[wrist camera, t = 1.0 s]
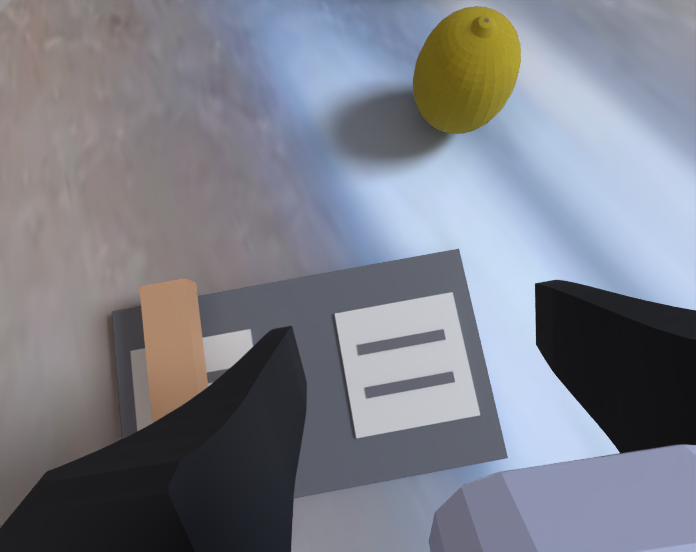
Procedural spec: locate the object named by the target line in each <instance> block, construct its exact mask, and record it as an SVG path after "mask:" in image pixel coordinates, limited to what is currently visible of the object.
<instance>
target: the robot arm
mask: <svg viewBox="0 0 696 552" xmlns="http://www.w3.org/2000/svg"><path fill="white" fill-rule="evenodd" d="M535 310H536V345H537V347H538V349H539V350H540V352H541V354H542V355H543V357H544V359H545V360H546V362H547V363H548V365H549V366H550V368H551V369H552V371H553V372H554V374H555V375H556V376H557V377H558V378H559V380H560V381H561V382H562V383H563V384H564V386H565V387H566V388H567V389H568V390H569V392H570V393H571V394H572V395H573V396H574V397H575V398H576V400H577V401H578V402H579V403H580V404H581V405H582V407H583V408H584V409H585V410H586V411H587V412H588V414H589V415H590V416H591V417H592V418H593V419H594V421H595V422H596V423H597V424H598V425H599V426H600V428H601V429H602V430H603V431H604V432H605V434H606V435H607V436H608V437H609V439H610V440H611V441H612V443H613V444H614V445H615V446H616V448H617V449H618V451H619V452H620V454H613V455H607V456H600V457H594V458H587V459H581V460H574V461H568V462H561V463H555V464H548V465H542V466H535V467H529V468H522V469H516V470H509V471H503V472H498V473H495V474H492V475H489V476H486V477H484V478H481V479H478V480H475V481H472V482H470V483H467V484H464V485H463V486H462V487H461V488H460V489H459V490H458V491H457V492H455V493H454V494H453V495H452V496H451V497H450V498H449V499H448V500H447V501H446V502H445V503H444V504H443V505H442V506H441V507H440V508H439V509H438V510H437V511H436V512H435V515H434V519H433V524H432V529H431V533H430V538H429V545H430V551H431V552H696V310H690V309H684V308H679V307H673V306H669V305H664V304H659V303H655V302H650V301H645V300H641V299H637V298H633V297H629V296H625V295H621V294H617V293H613V292H609V291H605V290H601V289H598V288H594V287H590V286H586V285H582V284H578V283H573V282H568V281H563V280H552V281H547V282H541V283H535ZM306 409H307V381H306V377H305V373H304V369H303V366H302V362H301V358H300V354H299V350H298V346H297V343H296V339H295V335H294V331H293V327H292V326H287V327H281V328H275V329H272V330H270V331H269V332H268V333H267V334H266V335H264V336H263V337H262V338H261V339H260V340H259V341H258V342H257V343H256V344H255V345H254V346H253V347H252V348H251V349H250V350H249V351H248V352H247V353H246V354H245V355H244V356H243V357H242V358H241V359H240V360H238V361H237V362H236V363H235V364H234V365H233V366H232V367H231V368H229V369H228V370H227V371H226V372H225V373H224V374H223V375H221V376H220V377H219V378H218V379H217V380H216V381H214V382H213V383H212V384H211V385H209V386H208V387H207V388H206V389H204V390H203V391H202V392H200V393H199V394H197V395H196V396H195V397H193V398H192V399H190V400H189V401H188V402H186V403H185V404H183V405H182V406H180V407H178V408H177V409H175V410H173V411H172V412H170V413H168V414H167V415H165V416H163V417H162V418H160V419H159V420H157V421H155V422H154V423H152V424H150V425H148V426H147V427H145V428H143V429H141V430H139V431H137V432H135V433H133V434H132V435H130V436H128V437H126V438H124V439H121V440H119V441H117V442H115V443H113V444H111V445H109V446H107V447H105V448H103V449H101V450H98V451H96V452H94V453H91V454H89V455H86V456H84V457H82V458H79V459H77V460H75V461H72V462H70V463H67V464H65V465H63V466H60V467H58V468H55V469H53V470H50V471H47V472H46V473H45V474H44V475H43V477H42V478H41V479H40V480H39V482H38V483H37V484H36V485H35V486H34V488H33V489H32V490H31V491H30V493H29V494H28V495H27V496H26V497H25V499H24V500H23V501H22V502H21V503H20V505H19V506H18V507H17V508H16V510H15V511H14V512H13V513H12V514H11V516H10V517H9V518H8V519H7V521H6V522H5V523H4V524H3V525H2V527H1V528H0V552H291V537H292V517H293V499H294V489H295V480H296V474H297V468H298V462H299V455H300V449H301V443H302V437H303V431H304V424H305V418H306Z"/></svg>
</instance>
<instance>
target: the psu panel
mask: <svg viewBox="0 0 696 552" xmlns="http://www.w3.org/2000/svg"><path fill="white" fill-rule="evenodd" d="M198 304H199V313H200V321H201V330H202V338H203V347H204V355H205V363H206V372H207V380H208V386H209V385H211V384H212V383H213V382H214V381H216V380H217V379H218V378H219V377H220V376H221V375H223V374H224V373H225V372H226V371H227V370H228V369H229V368H231V367H232V366H233V365H234V364H235V363H236V362H237V361H238V360H240V359H241V358H242V357H243V356H244V355H245V354H246V353H247V352H248V351H249V350H250V349H251V348H252V347H253V346H254V345H255V344H256V343H257V342H258V341H259V340H260V339H261V338H262V337H263V336H264V335H266V334H267V333H268V332H269V331H270V330H272V329H275V328H281V327H287V326H292V327H293V331H294V335H295V339H296V343H297V346H298V350H299V354H300V358H301V362H302V366H303V369H304V373H305V377H306V381H307V409H306V418H305V424H304V431H303V437H302V443H301V449H300V455H299V462H298V468H297V474H296V480H295V489H294V498H298V497H303V496H308V495H314V494H319V493H324V492H330V491H335V490H340V489H345V488H351V487H356V486H361V485H367V484H372V483H377V482H383V481H388V480H393V479H399V478H404V477H409V476H415V475H420V474H425V473H431V472H436V471H441V470H447V469H452V468H457V467H462V466H468V465H473V464H478V463H484V462H489V461H494V460H500V459H505V458H508V457H507V453H506V448H505V444H504V440H503V435H502V431H501V427H500V423H499V418H498V414H497V410H496V405H495V401H494V397H493V393H492V388H491V384H490V380H489V376H488V371H487V367H486V363H485V358H484V354H483V350H482V346H481V341H480V337H479V333H478V328H477V324H476V320H475V316H474V311H473V307H472V303H471V299H470V294H469V290H468V286H467V281H466V277H465V273H464V269H463V264H462V260H461V256H460V251H459V249H455V250H450V251H444V252H438V253H433V254H427V255H422V256H416V257H411V258H405V259H400V260H394V261H389V262H383V263H378V264H372V265H367V266H361V267H356V268H350V269H345V270H339V271H334V272H328V273H323V274H317V275H312V276H306V277H301V278H295V279H290V280H284V281H279V282H273V283H267V284H262V285H256V286H251V287H245V288H240V289H234V290H229V291H223V292H218V293H212V294H207V295H201V296H198ZM112 321H113V333H114V345H115V358H116V370H117V382H118V394H119V407H120V419H121V431H122V439H124V438H126V437H128V436H130V435H132V434H133V433H135V432H137V431H139V430H141V429H143V428H145V427H147V426H148V425H150V424H152V415H151V404H150V394H149V383H148V373H147V362H146V351H145V341H144V330H143V319H142V309H141V307H135V308H130V309H124V310H119V311H113V312H112Z"/></svg>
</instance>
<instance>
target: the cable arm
mask: <svg viewBox="0 0 696 552" xmlns="http://www.w3.org/2000/svg"><path fill="white" fill-rule="evenodd" d="M139 287H140V298H141V309H142V319H143V330H144V341H145V351H146V362H147V373H148V383H149V394H150V404H151V415H152V423H154V422H155V421H157V420H159V419H160V418H162V417H163V416H165V415H167V414H168V413H170V412H172V411H173V410H175V409H177V408H178V407H180V406H182V405H183V404H185V403H186V402H188V401H189V400H190V399H192V398H193V397H195V396H196V395H197V394H199V393H200V392H202V391H203V390H204V389H206V388H207V387H208V380H207V372H206V363H205V355H204V347H203V338H202V330H201V321H200V313H199V304H198V296H197V287H196V282H193V281H191V280H188V279H186V278H183V279H178V280H172V281H167V282H161V283H156V284H150V285H144V286H139Z"/></svg>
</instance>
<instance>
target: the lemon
mask: <svg viewBox="0 0 696 552" xmlns="http://www.w3.org/2000/svg"><path fill="white" fill-rule="evenodd" d="M520 62H521V48H520V42H519V39H518V35H517V32H516V30H515V29H514V27H513V25H512V24H511V22H510V21H509V20H508V19H507V18H506V17H505V16H504V15H502V14H501V13H499V12H497V11H496V10H493V9H490V8H487V7H477V6H476V7H468V8H464V9H461V10H458V11H456V12H454V13H452V14H451V15H449V16H448V17H446V18H445V19H443V20H442V21H441V22H440V23H439V24H438V25H437V26H436V27H435V29H434V30H433V31H432V32H431V33H430V35H429V36H428V38H427V40H426V41H425V43H424V45H423V47H422V50H421V52H420V54H419V56H418V58H417V62H416V66H415V71H414V77H413V91H414V99H415V103H416V105H417V108H418V110H419V112H420V114H421V115H422V117H423V118H424V119H425V121H426V122H428V123H429V124H430V125H431V126H433V127H434V128H436V129H438V130H440V131H442V132H446V133H451V134H461V133H466V132H470V131H474V130H476V129H478V128H480V127H481V126H483V125H485V124H486V123H488V122H489V121H490V120H491V119H492V118H493V117H494V116H495V115H496V114H498V113H499V112H500V110H501V109H502V108H503V106H504V105H505V103H506V102H507V100H508V98H509V97H510V95H511V93H512V91H513V89H514V86H515V83H516V80H517V76H518V72H519V68H520Z"/></svg>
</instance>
